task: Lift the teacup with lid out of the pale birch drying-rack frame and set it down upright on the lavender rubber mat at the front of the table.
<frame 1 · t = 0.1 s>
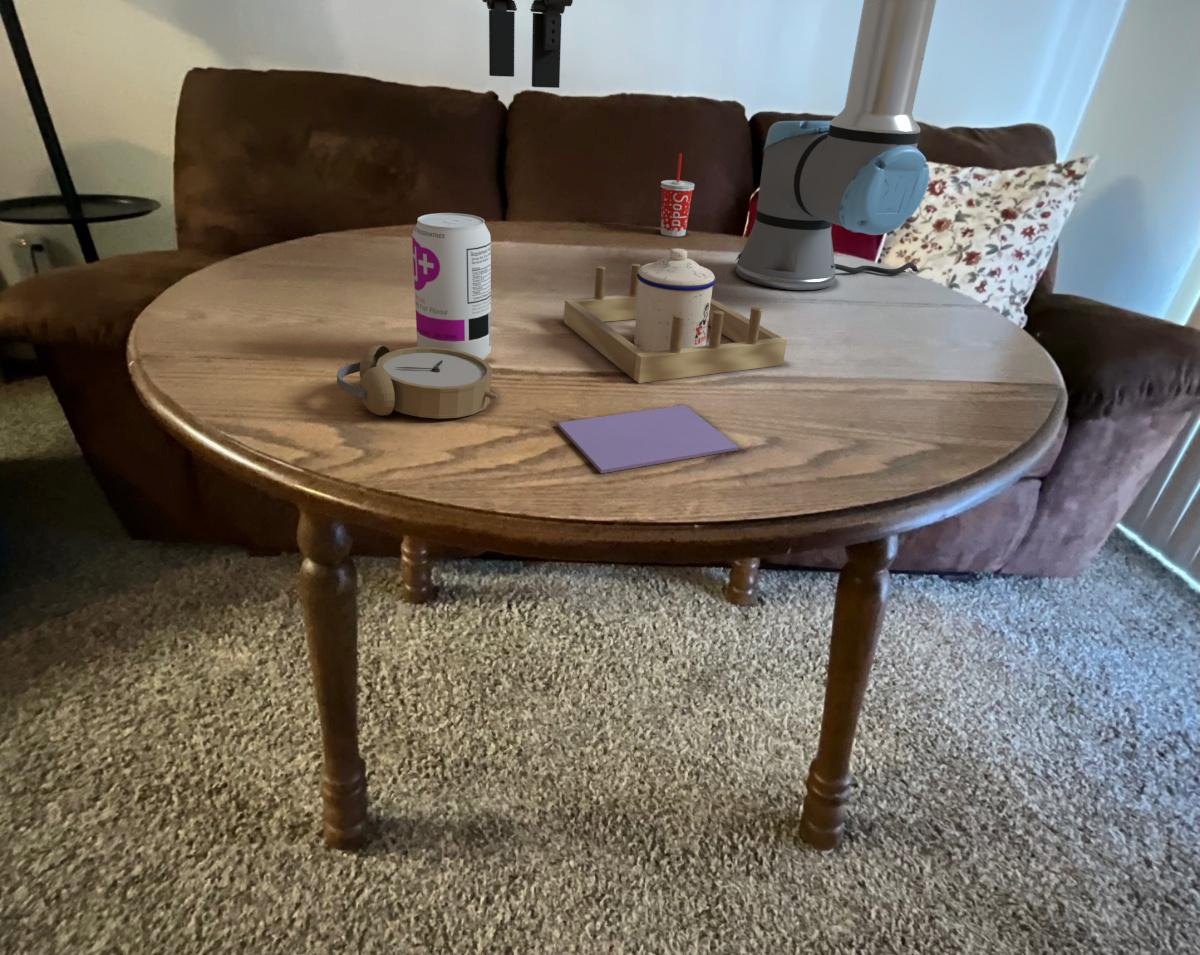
hand: (522, 81, 91), 28 cm above the table, tool pointing down, fingers open, 13 cm apart
alarm clock: (417, 401, 84), on the table
teacup with lid: (668, 344, 104), resting in rack
rack: (668, 342, 103), on the table
mat: (646, 438, 80), on the table
supplement can: (454, 357, 96), on the table
beverage cup: (672, 234, 157), on the table
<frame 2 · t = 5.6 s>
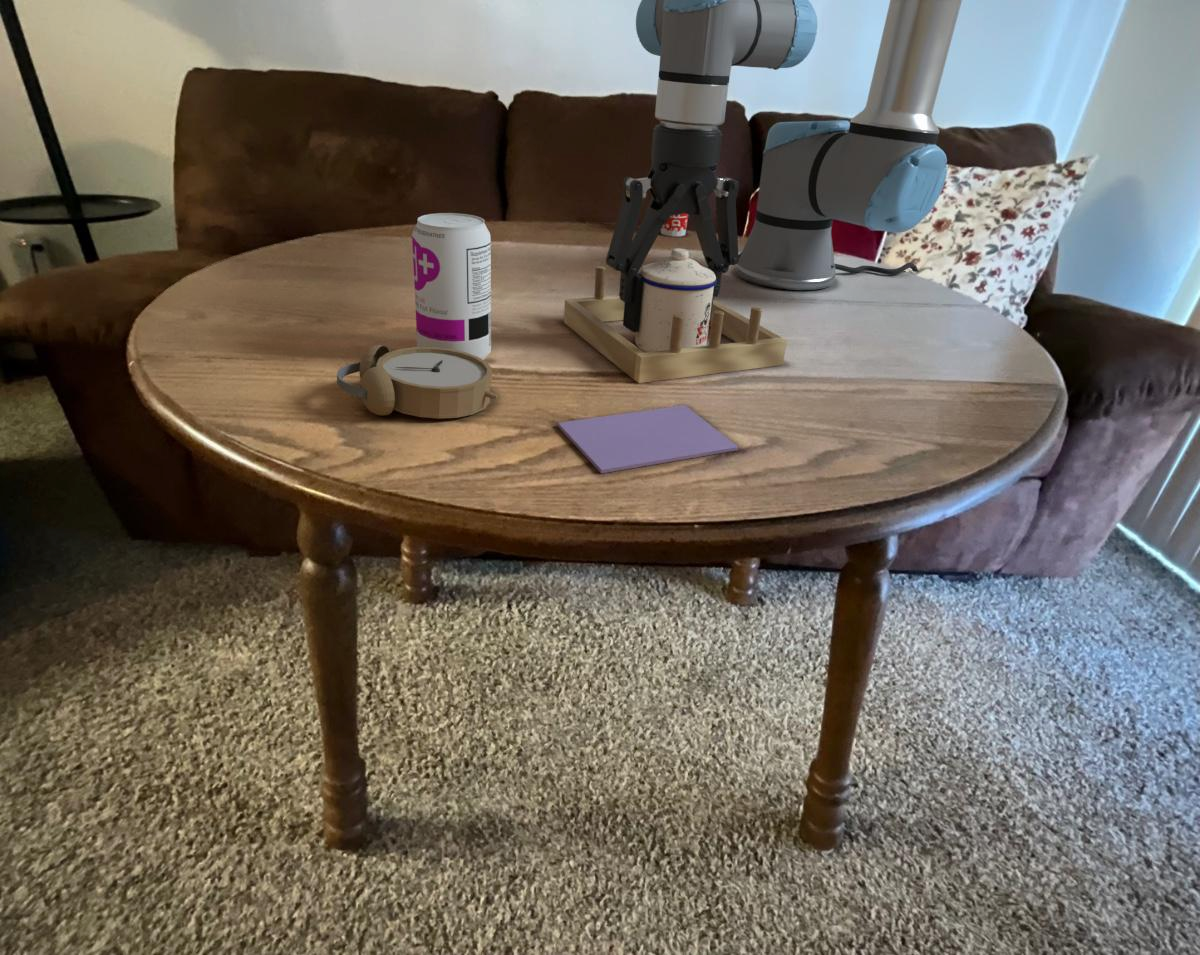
hand: (666, 325, 102), 2 cm above the table, tool pointing down, fingers closed on teacup with lid, 9 cm apart
teacup with lid: (669, 344, 104), resting in rack, touching gripper
everything else where it was.
when the fingers open (3 cm above the table, at t = 15.3 s): teacup with lid stays where it is, resting on mat.
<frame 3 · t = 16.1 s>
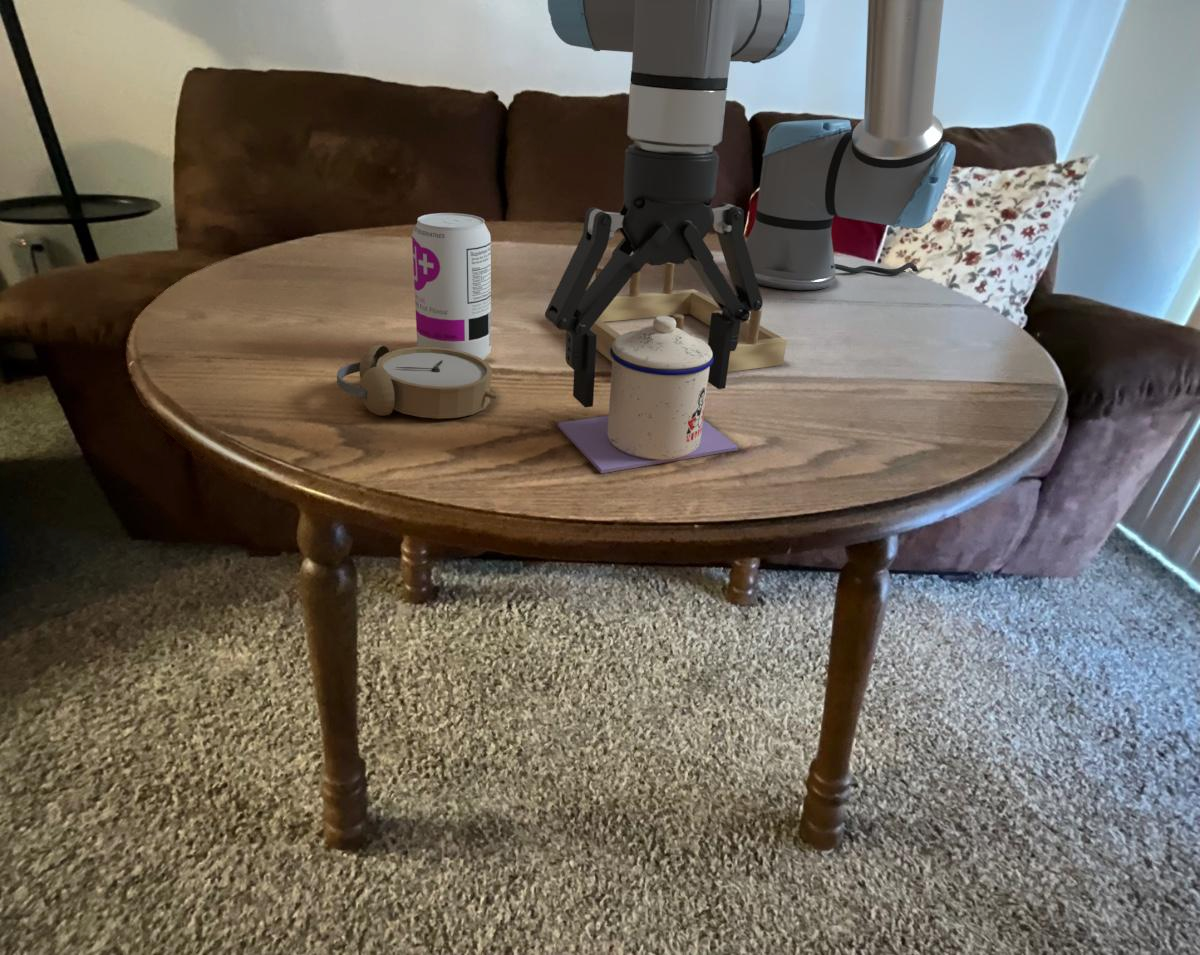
hand: (650, 392, 77), 5 cm above the table, tool pointing down, fingers open, 13 cm apart
teacup with lid: (652, 435, 80), resting on mat
everything else where it was.
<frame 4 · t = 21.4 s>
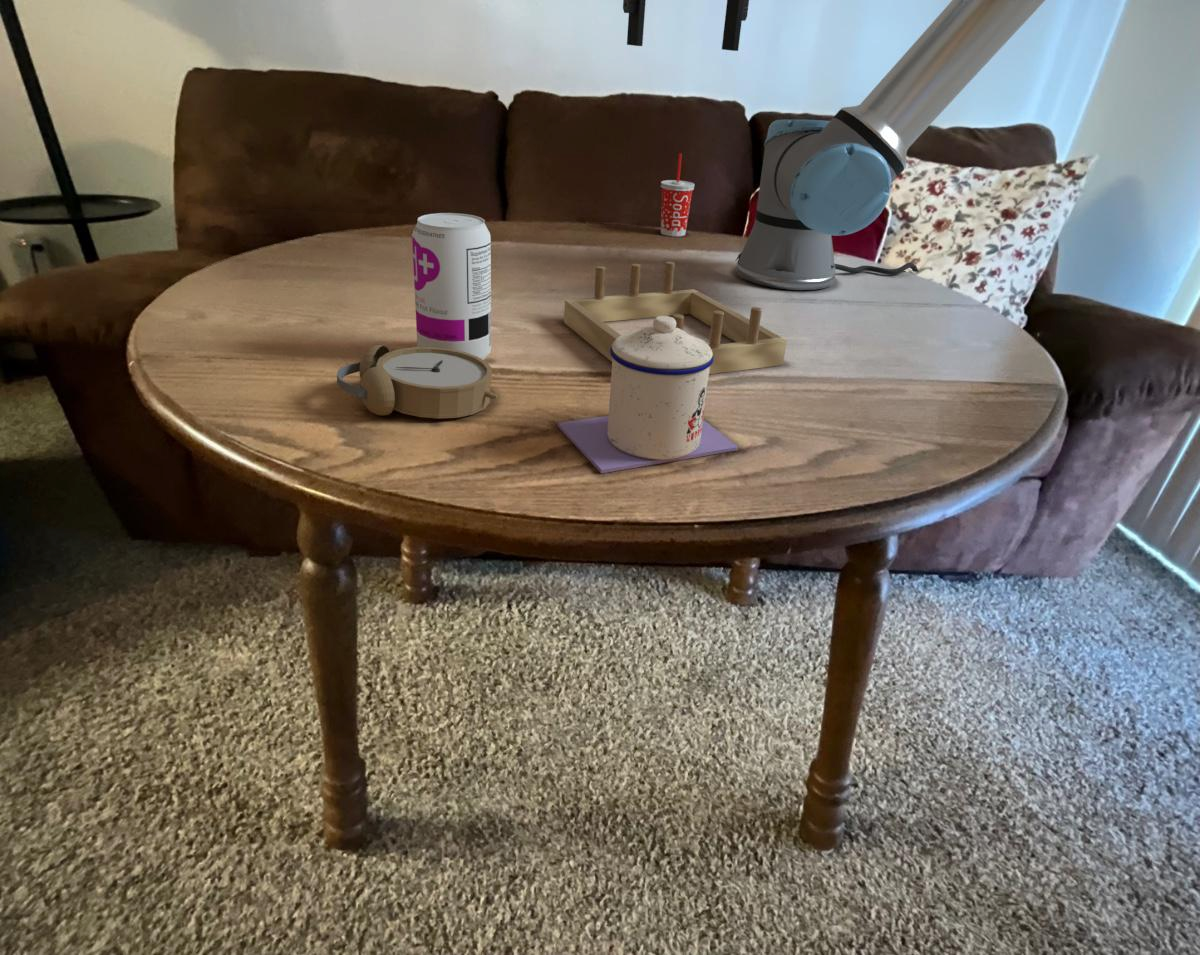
hand: (683, 48, 105), 32 cm above the table, tool pointing down, fingers open, 13 cm apart
nothing on the table moved.
at the end: teacup with lid inside the target area on the mat (0.7 cm from its centre), point 0.2 cm above the mat's base; teacup with lid tilted 0°; teacup with lid touching mat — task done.
